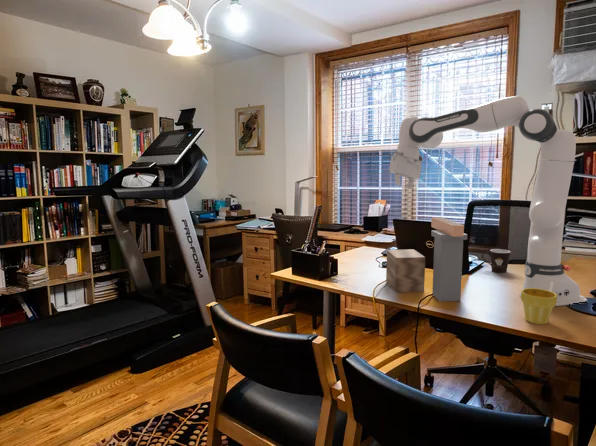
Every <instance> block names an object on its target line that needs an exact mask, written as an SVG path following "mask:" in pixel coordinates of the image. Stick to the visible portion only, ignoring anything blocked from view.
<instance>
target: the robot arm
mask: <svg viewBox="0 0 596 446" xmlns="http://www.w3.org/2000/svg"><path fill="white" fill-rule="evenodd" d="M513 126H514V127H517V128H518V129H519V132H520V133H521V135H522V137H524V138H525V139H526V140H529V141H532V142H538V143H539V145H540V153H539V160H538V165H537V172H536V178H535V183H534V187H533V192H532V195H531V200H530V201H531V202H530V206H529V210H528V211H529V212H528V217H529V220H530V228H529V235H528V244H527V256H526V260H525V263H524V275H525V276H524V280H523V283H522V284H523V285H522V288H521V290H520V293H519V296H520V297H521V291H522V290H523V289H526V288H538V289H544V290H548V291H551V292H554V293H555V294H556V295H557V302H556V306H555V307H560V306H568V305H569V304H570V305H574V304H573V303H579V302H585V301H587V302H588V299H587V298H586V297H585V296H583V295H581V290H580V289H581V288H580V285H579V284H578V283H577V282H576V281H575V280H574V279H572V278H571V277H570V276H568V275H567V274H566V273H565V271H566V272H570V271H571V269H572V268H571V266H570V265H568V264H562V263H561V259H562V249H563V248H562V247H563V235H564V227H565V226H564V225H565V217H566V207H567V206H566V205H567V200H568V197H569V196H568V195H569V192H570V191H569V190H570V186H571V180H572V175H573V170H574V165H575V159H576V152H577V151H576V148H577V147H576V146H577V145H576V144H577V143H576V138H577V137H576V135H575V134H574V133H573V132H572V131H570V130H568V129H561V128H560V129H559V128H558V127H557V125H556V122H555V120H554V117H553V115H552V114H551V113H550V112H548V111H547V110H545V109H543V108H533V109H530V107H529V105H528V102H527V101H526V99H525V98H524V97H522V96H521V95H515V96H514V95H513V96H508V97H504V98H499V99H494V100H492V101H489V102H486V103H483V104H480V105H476V106H473V107H470V108H469V107H468V108H466V109H463V110H462V109H461V110H457V111H454V112H450V113H447V114H442V115H439V116H435V117H425V116H422V117H418V116H409V117H406V118H404V119H403V120H402V122H401V124H400V126H399V127H400V128H399V133H398V145H397V150H396V151H394V152H393V155H392V157H391V159H390V164H389V172H390V173H392V174H394V180H395V183H394V184H395V185H396V186H400V185H402V184H401V183H402V181H401V178H400V177H402V178H403V177H404V178H406V179H408V183H406V188H407V189H412V187H413V185H414V182H415V180H420V178H421V174H422V163H423V162H424V158H423V157H422V156H421V154H420V152H419V148H420V147H422V148H426V149H435V148H437V147H438V146H440V144H441V143H442V141H443V137H444V132H449V131H453V130H457V129H467V130H472V131H473V132H474V131H475V132H477V133H488V132H495V131H497V130H501V129H503V128H507V127H508V128H509V127H513ZM579 304H580V303H579Z"/></svg>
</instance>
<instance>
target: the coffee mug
mask: <svg viewBox="0 0 596 446" xmlns="http://www.w3.org/2000/svg"><path fill="white" fill-rule="evenodd" d="M485 254H487V255H488V256H489V258H490V262H489V261H488V260H487V259H485V258H484V255H485ZM510 256H511V251H510V250H507V249H503V248H502V249H501V248H492V249H490V252H487V251H485V252H482V253H481V258H482V260H483V261H485V263H487V264H489V265H490V267H491V272H493V273H497V274H505V273H507V272H508V265H509V261H510Z"/></svg>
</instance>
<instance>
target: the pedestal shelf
mask: <svg viewBox="0 0 596 446" xmlns="http://www.w3.org/2000/svg"><path fill="white" fill-rule="evenodd" d="M430 232H431V235H430V236H431V237H434V243H433V269H432V291H431V292H432V293H431V294H433V295H434V296H435V297H434V296H433V295H432V296H433V297H434V298H435V299H437V300H438V302H460V301H461V295H462V278H463V277H462V276H463V274H462V273H463V254H464V252H463V251H464V241H468V234H467V233H464V236H457V237H452V236H450V235H448V234H446V233H444V232H441V231H439V230H437V229H435V230H433V229H432V230H431V231H430Z"/></svg>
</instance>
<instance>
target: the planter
mask: <svg viewBox="0 0 596 446" xmlns="http://www.w3.org/2000/svg"><path fill="white" fill-rule="evenodd" d="M430 225H431V228H433V229H435V230H439V231H441V232H444V233H446V234H448V235H450V236H452V237H457V236H464V232H465V231H464V230H465V225H464V224H461V223H459V222H456V221H453V220H450V219H447V218H444V217H442V216H440V217H439V216H438V217H437V216H435V217H431V224H430Z"/></svg>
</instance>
